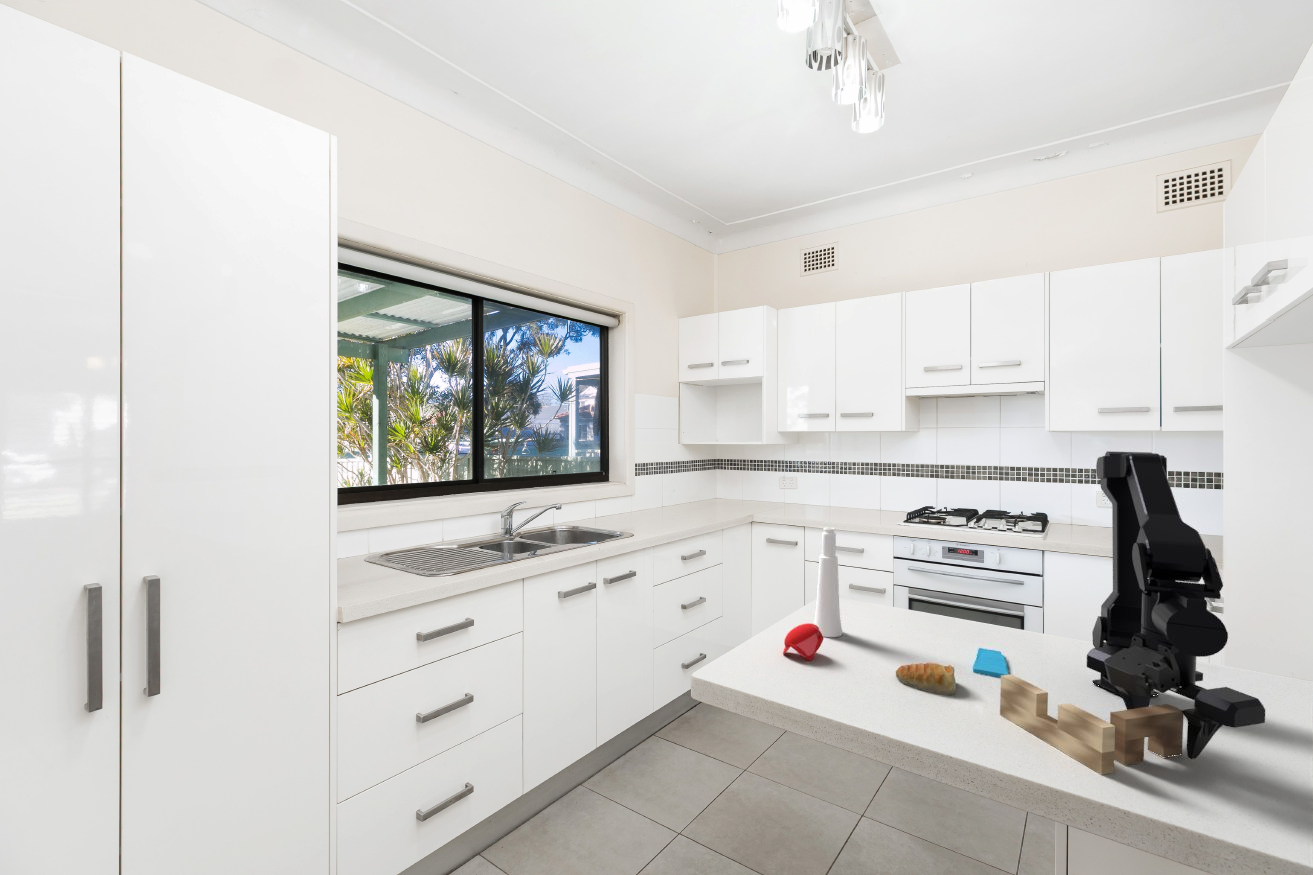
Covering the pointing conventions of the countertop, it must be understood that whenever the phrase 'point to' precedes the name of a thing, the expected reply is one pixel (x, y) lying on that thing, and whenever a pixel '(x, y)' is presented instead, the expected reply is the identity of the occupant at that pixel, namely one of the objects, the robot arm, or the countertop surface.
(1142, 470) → the robot arm
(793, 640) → the red rounded piece
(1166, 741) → the walnut slot plate
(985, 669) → the sponge
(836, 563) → the cosmetic bottle
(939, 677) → the pastry
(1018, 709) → the oak slot board
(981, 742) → the countertop surface
